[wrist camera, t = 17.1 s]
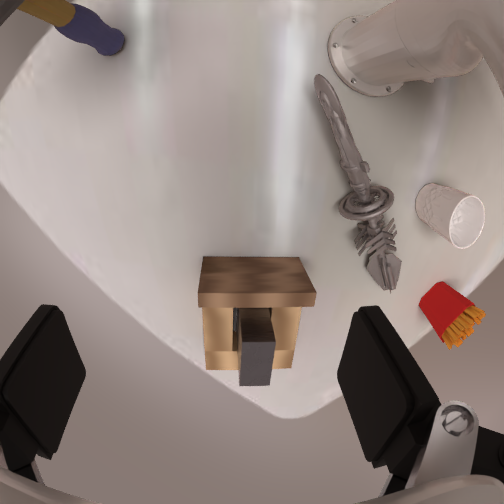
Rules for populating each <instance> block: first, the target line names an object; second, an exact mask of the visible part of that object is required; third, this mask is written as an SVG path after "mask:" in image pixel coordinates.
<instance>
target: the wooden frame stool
mask: <svg viewBox="0 0 504 504" xmlns="http://www.w3.org/2000/svg"><path fill="white" fill-rule="evenodd" d="M315 298H316V291H315V289H314V287H313V285H312V283H311V281H310V279H309V277H308V275H307V273H306V271H305V269H304V267H303V265H302V263H301V261H300V259H299V257H203V262H202V269H201V275H200V282H199V288H198V306H199V307H202V312H203V330H204V346H205V361H206V370H238V354H237V337H236V331H233V308H269V312H270V317H271V321H272V326H273V330H274V335H275V339H276V346H275V352H274V359H273V366H272V369H281V368H291V366H292V360H293V355H294V349H295V344H296V338H297V332H298V326H299V320H300V314H301V308H302V307H312V306H314V304H315Z"/></svg>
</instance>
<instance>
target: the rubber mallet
mask: <svg viewBox="0 0 504 504" xmlns="http://www.w3.org/2000/svg"><path fill="white" fill-rule="evenodd" d="M16 9H19V10H21V11H24V12H26V13H28V14H30V15H33V16H35V17H37V18H39V19H42V20H44V21H46V22H48V23H50V24H52V25H54V26H55V28H56V29H57V30H58V31H59V32H60V33H61V34H63V35H64V36H66V37H67V38H69V39H71V40H73V41H76V42H79V43H84V44H88V45H90V46H92V47H94V48H95V49H96V50H97V51H98V53H99V54H101V55H113V54H115V53H116V52H118V51H119V50H120V49H121V48H122V46H123V42H124V35H123V34H122V33H121V31H119V30H118V29H115V28H111V27H110V26H108V25H107V24H105V23H104V22H103V21H102V20H101V19H100V17H99V16H98V15H97V14H96V13H95V12H93V11H92V10H90V9H88V8H86V7H83V6H81V5H78V4H72V3H69V2H67V1H65V0H0V26H1V25H2V24H3V23H4V21H5V20H6V19H7V18H8V17H9V16H10V15H11V14H12V13H13V12H14V11H15V10H16Z"/></svg>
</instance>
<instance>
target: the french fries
mask: <svg viewBox="0 0 504 504" xmlns="http://www.w3.org/2000/svg"><path fill="white" fill-rule="evenodd" d="M419 307H420V308H421V310H422V311H423V313H424V314H425V316H426V317H427V319H428V320H429V322H430V323H431V325H432V326H433V328H434V329H435V331H436V333H437V334H438V336H439V337H440V339H441V340H442V342H443V343H444V342H445V343H446V345H447V347H448V349H449V350H450V349H451V348H452V345H453V344H454V345H456V346H457V347H459V346H460V345H461V344H462V342H463V341H462V340H461V339H460V338H462V339H463V340H465V339H466V335H467V336H470V335H471V334H472V333H473V332H474V330H473V328H472V326H473V325H474V324H475V323H474V322H476V323H477V324H478V325H479V324H480V323H481V321H480V320H481V319H482V318H483V317H485V315H486V314H485V313H484V311H483V310H481V309H479V308H477V307H475V305H474V303H472V302H471V301H470V300H468V299H467V298H466V297H464V296H463V295H461V294H460V293H459V292H457V291H456V290H454V289H453V288H451V287H450V286H449V285H447V284H446V283H444V282H443V281H442V282H438V283H436V284H435V285H434V286H433V287H432V288H431V289H430V290H429V291H428V292H427V293H426V294H425V295H424V296H423V297H422V298H421V301H420V303H419ZM482 316H483V317H482Z"/></svg>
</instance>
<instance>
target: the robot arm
mask: <svg viewBox="0 0 504 504" xmlns="http://www.w3.org/2000/svg"><path fill="white" fill-rule="evenodd" d="M333 46H335V48H334V47H333ZM328 53H329V58H330V61H331V64H332V66H333V68H334V70H335V72H336V73H337V74H338V76H339V77H340V78H341V79H342V80H343V81H344V82H345V83H346V84H347V85H348V86H349V87H351V88H352V89H353V90H355V91H357V92H359V93H361V94H365V95H368V96H375V97H377V96H386V95H390V94H392V93H394V92H396V91H397V90H399V89H400V88H401V87H402V86H403V84H404V83H405V82H407V81H415V80H422V81H425V82H428V83H433V82H434V80H435V78H442V77H453V76H460V75H464V74H466V73H469V72H470V71H472V70H473V69H474V68H475V67H476V66H477V65H478V64H479V63H480V61H481V60H482V58H483V56H484V58H485V60H486V61H487V63H488V65H489V67H490V69H491V71H492V72H493V74H494V76H495V78H496V80H497V82H498V85H499V87H500V89H501V91H502V94H503V96H504V0H396V1H394V2H392V3H390V4H389V5H387V6H385V7H384V8H382V9H380V10H379V11H377V12H375V13H374V14H372V15H371V16H369V17H368V16H353V17H349V18H347V19H344V20H343V21H341V22H340V23H339V24H338V25H337V26H336V27H335V28H334V29H333V31H332V32H331V34H330V37H329V40H328ZM351 80H352V81H353V83H351ZM386 89H387V90H386ZM85 376H86V370H85V367H84V365H83V362H82V360H81V358H80V355H79V353H78V350H77V348H76V346H75V343H74V341H73V338H72V336H71V333H70V330H69V328H68V325H67V322H66V320H65V316H64V314H63V312H62V311H61V310H60V309H59V308H58V307H57V306H55V305H44V304H43V305H41V306H40V307H39V308H38V309H37V310H36V312H35V313H34V314H33V315H32V317H31V318H30V319H29V321H28V322H27V323H26V325H25V326H24V327H23V329H22V330H21V331H20V333H19V334H18V335H17V337H16V338H15V339H14V341H13V342H12V344H11V345H10V347H9V348H8V349H7V351H6V352H5V354H4V355H3V357H2V358H1V360H0V504H102V503H98V502H94V501H90V500H86V499H83V498H80V497H76V496H73V495H70V494H67V493H64V492H61V491H58V490H55V489H53V488H50V487H47V486H45V484H44V482H43V479H42V477H41V474H40V472H39V469H38V467H37V464H36V461H35V455H36V454H38V456H41V457H44V458H46V459H49V460H51V458H52V455H53V453H56V452H57V450H58V447H59V444H60V441H61V438H62V435H63V433H64V430H65V427H66V425H67V422H68V419H69V417H70V414H71V411H72V409H73V406H74V404H75V401H76V399H77V396H78V394H79V391H80V389H81V387H82V384H83V382H84V379H85ZM337 378H338V382H339V385H340V387H341V390H342V393H343V396H344V398H345V401H346V404H347V407H348V410H349V412H350V415H351V418H352V420H353V424H354V426H355V429H356V432H357V435H358V438H359V441H360V444H361V446H362V450H363V452H364V455H365V458H366V460H367V461H368V462H372V465H373V467H374V468H378V467H381V466H385V465H387V467H388V470H389V472H390V474H389V476H388V478H387V480H386V482H385V485H384V487H383V489H382V491H381V493H380V495H379V497H378V498H375V499H371V500H368V501H364V502H360V503H355V504H504V434H500V433H498V432H495V431H492V430H489V429H486V428H483V427H480V426H479V424H478V418H477V415H476V413H475V411H474V410H473V409H472V408H471V407H470V406H469V405H467V404H466V403H463V402H461V401H448V402H445V403H443V404H442V405H441V403H440V401H439V398H438V396H437V395H436V393H435V391H434V390H433V388H432V386H431V385H430V383H429V382H428V380H427V378H426V377H425V375H424V373H423V372H422V370H421V369H420V367H419V366H418V364H417V362H416V361H415V359H414V358H413V356H412V355H411V353H410V352H409V350H408V348H407V347H406V345H405V344H404V342H403V341H402V339H401V338H400V336H399V335H398V333H397V332H396V330H395V329H394V327H393V326H392V324H391V323H390V322H389V320H388V319H387V317H386V316H385V314H384V313H383V311H382V310H381V309H380V307H379V306H364V307H360V308H359V310H358V312H354V314H353V317H352V321H351V325H350V329H349V333H348V336H347V340H346V344H345V347H344V351H343V354H342V358H341V361H340V364H339V368H338V371H337Z"/></svg>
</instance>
